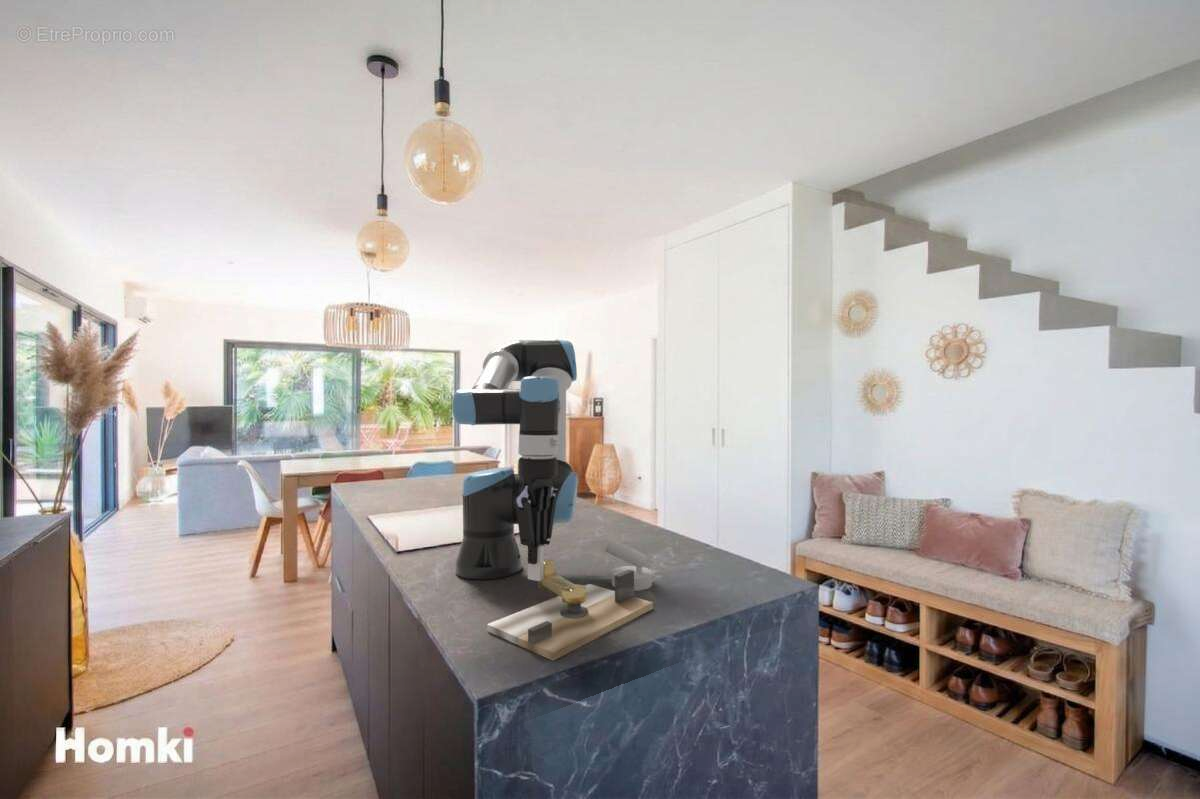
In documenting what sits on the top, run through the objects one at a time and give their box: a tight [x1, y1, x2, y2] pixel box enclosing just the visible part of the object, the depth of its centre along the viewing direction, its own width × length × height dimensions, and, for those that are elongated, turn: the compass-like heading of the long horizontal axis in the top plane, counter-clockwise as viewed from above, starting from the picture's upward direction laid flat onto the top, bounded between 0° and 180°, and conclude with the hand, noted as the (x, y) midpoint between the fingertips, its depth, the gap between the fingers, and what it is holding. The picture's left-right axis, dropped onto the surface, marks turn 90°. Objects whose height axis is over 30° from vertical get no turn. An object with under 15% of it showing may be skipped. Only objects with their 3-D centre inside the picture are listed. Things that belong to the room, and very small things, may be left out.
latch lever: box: [537, 559, 586, 604], centre depth 98 cm, size 15×4×5 cm, turn 33°
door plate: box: [486, 570, 654, 661], centre depth 94 cm, size 16×26×6 cm, turn 139°
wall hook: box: [605, 537, 653, 592], centre depth 112 cm, size 9×10×10 cm
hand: (535, 579), depth 101 cm, fingers closed
